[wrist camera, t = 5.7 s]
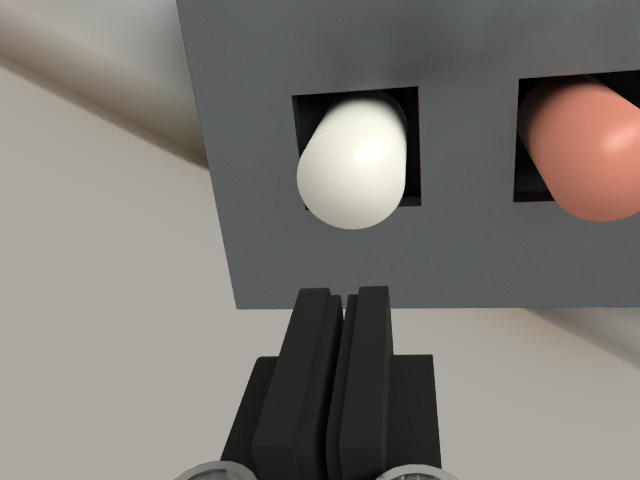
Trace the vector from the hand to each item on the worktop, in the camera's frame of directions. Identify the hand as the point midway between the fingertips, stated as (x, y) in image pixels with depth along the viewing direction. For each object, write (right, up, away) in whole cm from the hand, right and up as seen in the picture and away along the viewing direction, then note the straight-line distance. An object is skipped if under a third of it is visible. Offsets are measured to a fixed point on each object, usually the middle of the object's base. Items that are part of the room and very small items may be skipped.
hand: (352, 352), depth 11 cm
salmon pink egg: (+9, +7, +12) cm, 17 cm away
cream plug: (+1, +7, +13) cm, 15 cm away
